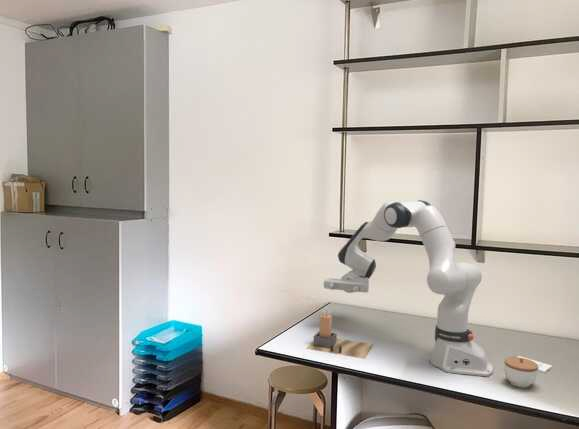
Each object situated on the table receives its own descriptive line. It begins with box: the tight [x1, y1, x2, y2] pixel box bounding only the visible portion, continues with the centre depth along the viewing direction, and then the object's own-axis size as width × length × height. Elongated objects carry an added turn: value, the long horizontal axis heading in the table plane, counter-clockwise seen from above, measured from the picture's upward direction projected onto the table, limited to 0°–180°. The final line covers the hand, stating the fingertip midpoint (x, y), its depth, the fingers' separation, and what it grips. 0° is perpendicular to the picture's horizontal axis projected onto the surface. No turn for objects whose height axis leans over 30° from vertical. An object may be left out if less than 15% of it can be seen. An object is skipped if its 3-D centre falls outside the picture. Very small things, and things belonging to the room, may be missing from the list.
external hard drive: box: [517, 355, 553, 374], centre depth 187 cm, size 2×8×12 cm
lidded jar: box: [503, 356, 538, 389], centre depth 170 cm, size 11×11×9 cm
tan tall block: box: [318, 310, 333, 338], centre depth 200 cm, size 4×4×14 cm
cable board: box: [305, 338, 375, 360], centre depth 199 cm, size 24×17×3 cm
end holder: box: [312, 331, 338, 349], centre depth 200 cm, size 8×8×4 cm
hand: (342, 288), depth 210 cm, fingers open, 8 cm apart
